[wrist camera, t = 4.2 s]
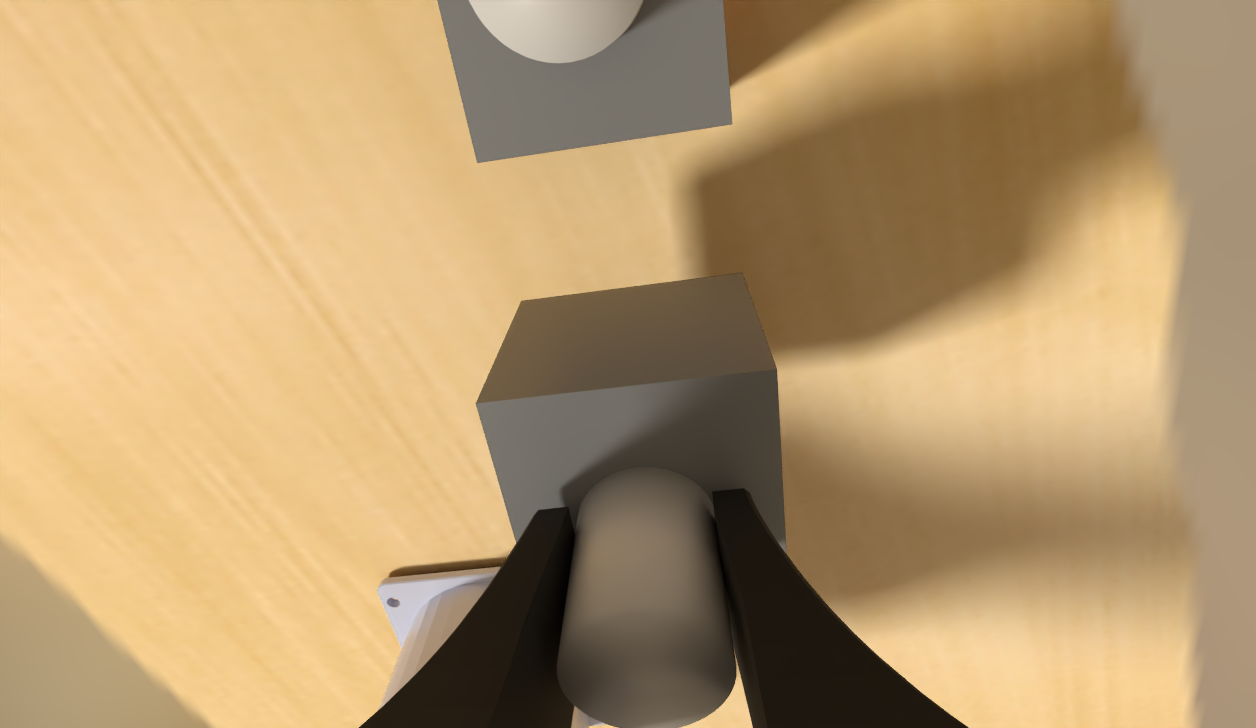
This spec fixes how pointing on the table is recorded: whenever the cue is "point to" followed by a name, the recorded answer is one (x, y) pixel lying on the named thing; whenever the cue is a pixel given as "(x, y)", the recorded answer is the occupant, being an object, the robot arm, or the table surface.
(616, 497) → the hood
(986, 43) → the table surface
